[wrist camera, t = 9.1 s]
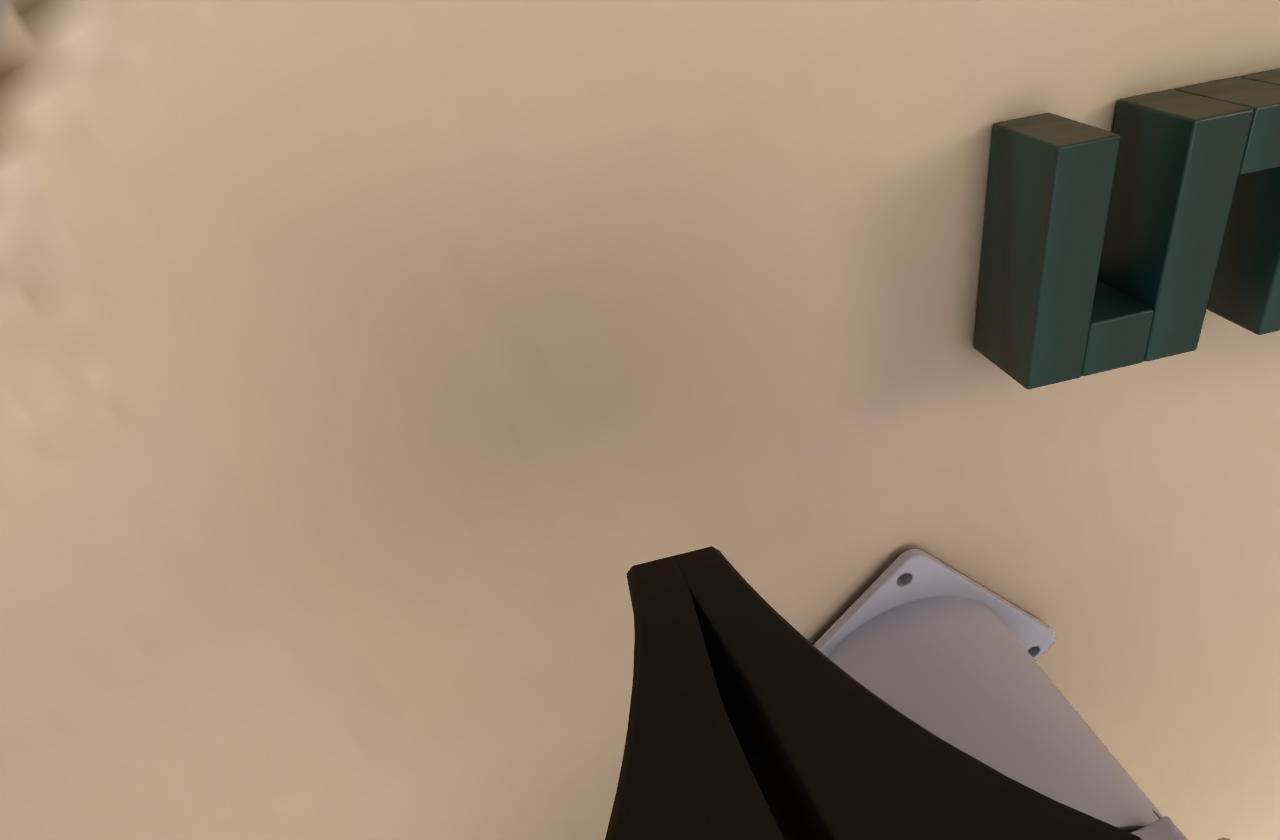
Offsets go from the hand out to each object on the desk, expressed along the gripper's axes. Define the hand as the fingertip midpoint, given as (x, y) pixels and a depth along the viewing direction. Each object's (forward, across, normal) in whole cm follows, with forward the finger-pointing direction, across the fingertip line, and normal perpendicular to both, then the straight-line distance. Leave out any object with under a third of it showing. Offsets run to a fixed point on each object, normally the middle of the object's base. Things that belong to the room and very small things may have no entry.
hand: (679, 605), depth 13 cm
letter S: (+9, -14, 0) cm, 17 cm away
